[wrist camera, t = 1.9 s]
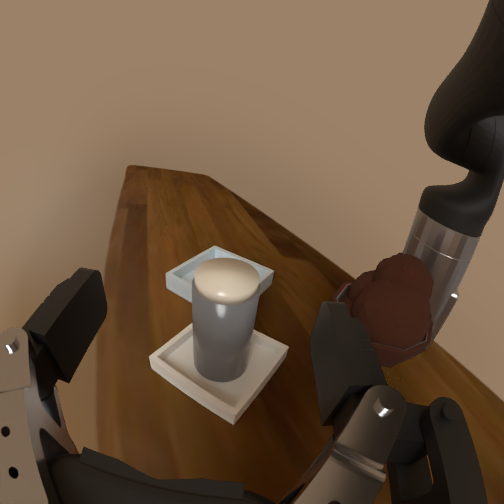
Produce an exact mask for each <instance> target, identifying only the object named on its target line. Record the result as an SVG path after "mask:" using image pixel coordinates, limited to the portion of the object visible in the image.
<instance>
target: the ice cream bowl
mask: <svg viewBox="0 0 504 504" xmlns="http://www.w3.org/2000/svg"><path fill="white" fill-rule="evenodd" d="M433 285H434V280H433V278H432V275H431V273H430V271H429V269H428V267H427V265H426V264H425V263H424V262H423V261H422V260H421V259H419V258H417V257H415V256H413V255H408V254H403V253H398V254H397V255H394V256H392V257H390V258H386V259H383V260H382V261H381V262H380V263H379V264H378V266H377V268H376V270H374V271H369V272H364V273H363V274H362V275H360V276H359V277H358V278H357V279H356V280H353V281H346V282H343V284H342V285H341V286H340V287H339V289H338V290H337V291H336V292H335V294H334V295H333V296H332V299H331V301H332V302H344V303H345V304H346V305H347V308H348V311H349V313H350V316H351V317H355V318H358V319H359V320H360V322H361V323H362V324H363V325H364V326H365V327H366V329H367V331H368V334H369V337H370V341H371V342H372V344H373V347H374V351H375V352H376V355H377V358H378V360H379V363H380V366H384V367H392V366H394V365H397V364H399V363H401V362H403V361H406V360H408V359H410V358H412V357H414V356H416V355H417V354H419V353H421V352H422V351H423V350H424V349H425V348H426V347H427V346H428V345H429V344H430V341H431V335H432V329H433V322H432V317H431V306H430V303H429V300H430V298H431V295H432V289H433Z"/></svg>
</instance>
